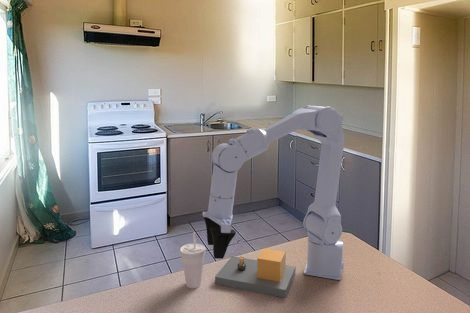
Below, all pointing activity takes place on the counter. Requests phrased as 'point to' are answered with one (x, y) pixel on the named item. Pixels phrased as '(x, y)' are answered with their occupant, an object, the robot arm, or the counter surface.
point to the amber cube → (271, 265)
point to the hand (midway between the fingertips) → (215, 250)
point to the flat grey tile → (253, 277)
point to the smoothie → (193, 262)
